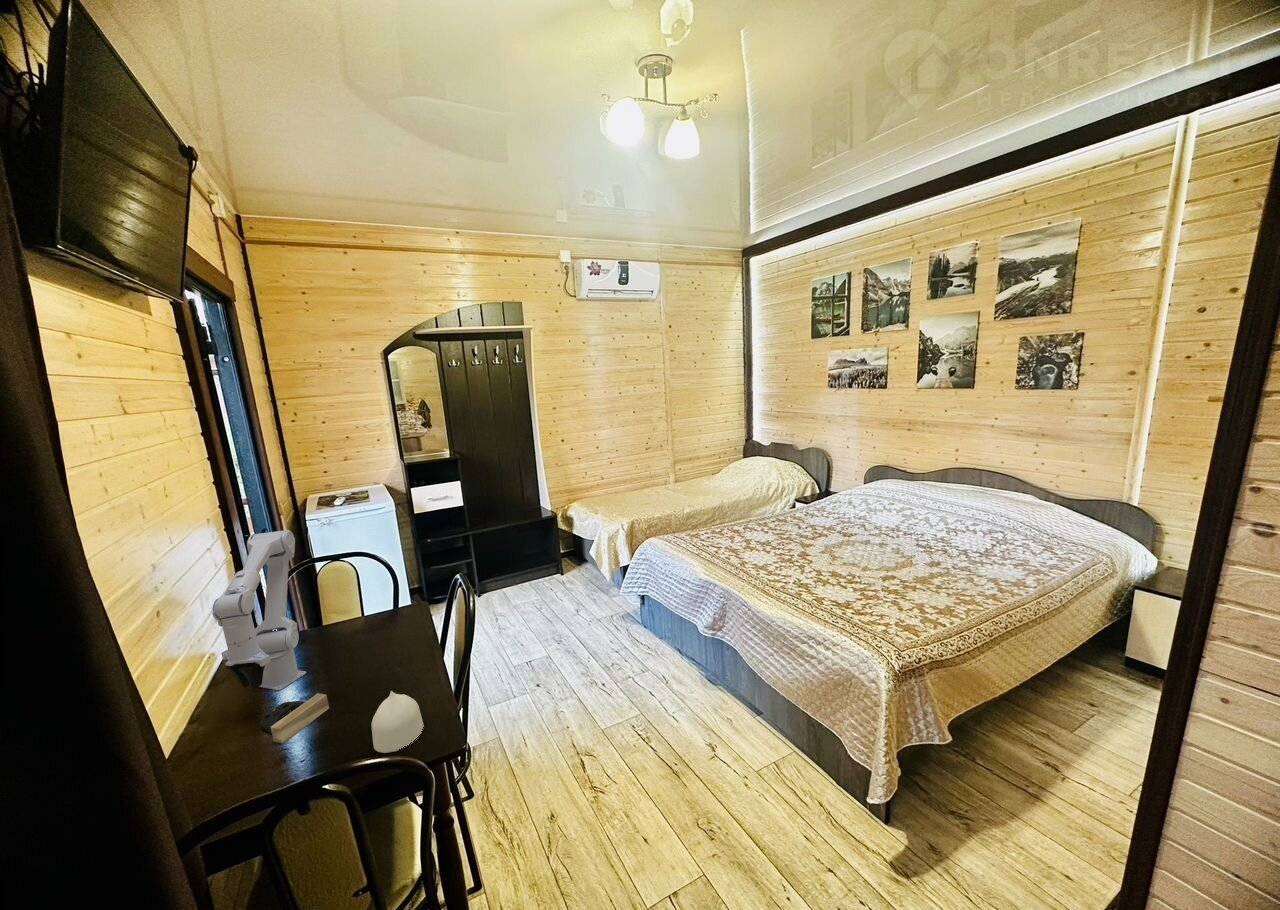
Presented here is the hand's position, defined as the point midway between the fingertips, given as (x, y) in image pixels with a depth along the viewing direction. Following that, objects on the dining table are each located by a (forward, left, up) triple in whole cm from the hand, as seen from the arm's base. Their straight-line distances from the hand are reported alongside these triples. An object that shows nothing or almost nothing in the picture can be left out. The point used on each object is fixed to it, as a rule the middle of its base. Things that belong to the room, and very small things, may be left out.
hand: (252, 685), depth 118 cm
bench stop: (+16, 0, -8) cm, 18 cm away
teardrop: (+43, +3, -9) cm, 44 cm away
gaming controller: (+9, 0, -9) cm, 12 cm away
